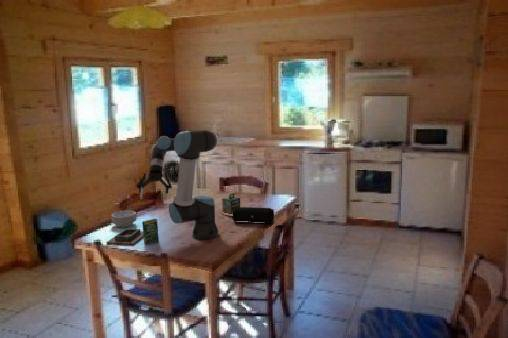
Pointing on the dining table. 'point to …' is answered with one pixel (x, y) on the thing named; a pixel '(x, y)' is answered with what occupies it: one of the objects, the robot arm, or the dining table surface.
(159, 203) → the dining table surface
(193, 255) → the dining table surface
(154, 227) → the coffee box
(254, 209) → the portable speaker
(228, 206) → the green lantern
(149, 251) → the dining table surface
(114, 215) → the paper bowls
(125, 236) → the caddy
